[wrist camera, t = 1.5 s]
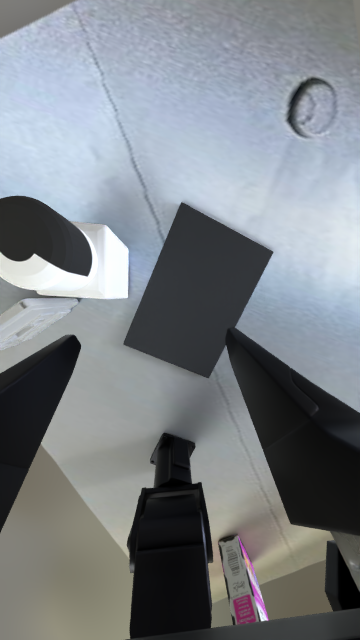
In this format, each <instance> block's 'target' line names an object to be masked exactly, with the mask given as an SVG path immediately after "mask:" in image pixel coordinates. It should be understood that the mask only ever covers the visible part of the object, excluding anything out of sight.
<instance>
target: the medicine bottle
mask: <svg viewBox="0 0 360 640" xmlns="http://www.w3.org/2000/svg"><path fill="white" fill-rule="evenodd" d="M0 277H2V278H3V279H4V280H6V281H7V282H9V283H11V284H13V285H15V286H17V287H20V288H24V289H30V290H36V292H37V293H38V294H40V295H50V296H65V297H80V298H96V299H120V298H127V297H128V248H127V247H126V246H125V245H124V244H123V243H122V242H121V241H120V240H119V238H118V237H117V236H116V235H115V234H114V233H113V232H112V231H111V230H110V229H109V228H108V227H107V226H106V225H102V224H92V223H82V222H71V221H68V220H67V219H66V218H64V217H63V216H61V215H60V214H59V213H57V212H56V211H54V210H53V209H52V208H50V207H49V206H47V205H46V204H44V203H43V202H41V201H39V200H36V199H33V198H30V197H26V196H10V197H5V198H1V199H0Z"/></svg>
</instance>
